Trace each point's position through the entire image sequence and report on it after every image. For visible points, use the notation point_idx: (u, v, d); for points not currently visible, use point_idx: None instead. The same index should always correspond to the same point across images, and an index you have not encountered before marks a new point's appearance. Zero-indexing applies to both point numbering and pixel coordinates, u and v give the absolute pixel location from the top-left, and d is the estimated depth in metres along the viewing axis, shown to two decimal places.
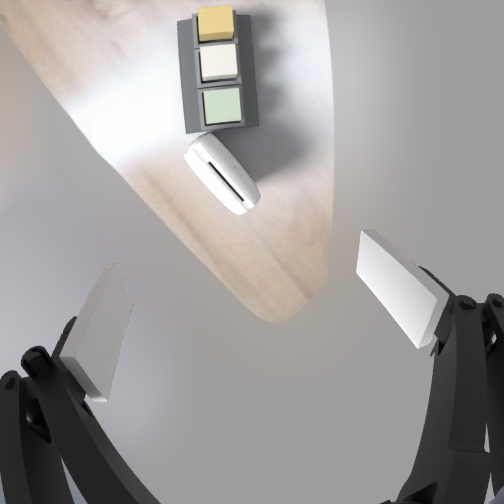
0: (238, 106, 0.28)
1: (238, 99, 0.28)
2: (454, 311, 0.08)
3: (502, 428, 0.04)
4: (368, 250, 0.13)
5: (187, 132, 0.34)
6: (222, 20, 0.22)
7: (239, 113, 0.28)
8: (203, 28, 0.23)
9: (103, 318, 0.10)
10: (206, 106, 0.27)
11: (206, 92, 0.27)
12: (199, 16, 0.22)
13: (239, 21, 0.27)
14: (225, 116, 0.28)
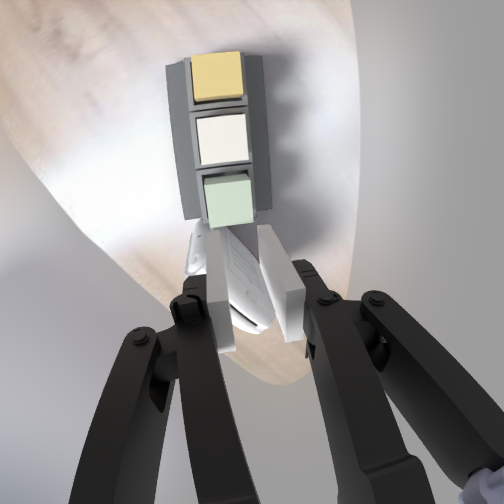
0: (250, 204, 0.24)
1: (250, 195, 0.24)
2: (313, 312, 0.09)
3: (436, 434, 0.05)
4: (260, 244, 0.15)
5: (186, 218, 0.30)
6: (227, 76, 0.19)
7: (251, 213, 0.25)
8: (200, 89, 0.19)
9: None
10: (208, 205, 0.24)
11: (208, 186, 0.23)
12: (194, 69, 0.18)
13: (248, 65, 0.23)
14: (233, 218, 0.25)
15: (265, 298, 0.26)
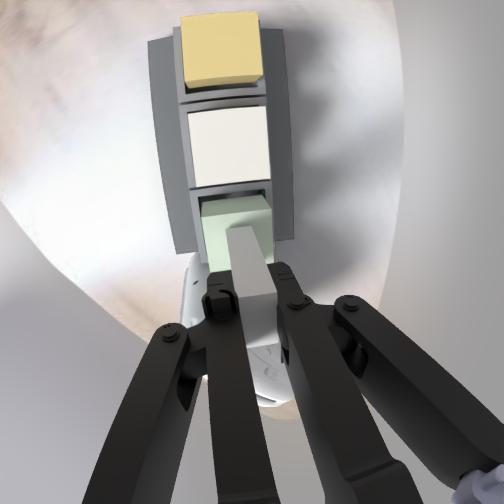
0: (269, 245, 0.17)
1: (270, 231, 0.16)
2: (284, 318, 0.09)
3: (422, 439, 0.05)
4: None
5: (178, 252, 0.22)
6: (237, 47, 0.11)
7: (271, 257, 0.17)
8: (194, 66, 0.11)
9: None
10: (208, 247, 0.16)
11: (207, 219, 0.15)
12: (184, 36, 0.10)
13: (264, 41, 0.15)
14: None
15: None
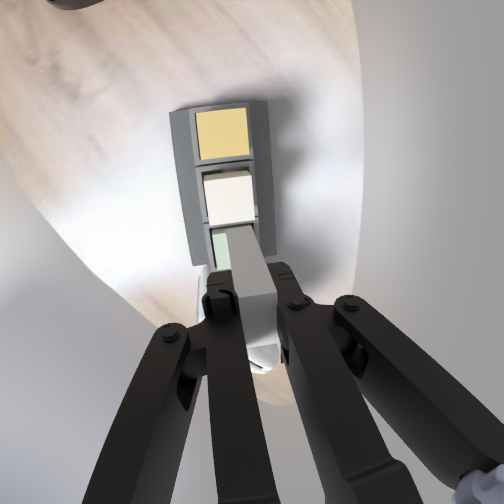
0: None
1: None
2: (284, 318, 0.09)
3: (422, 439, 0.05)
4: None
5: (194, 264, 0.32)
6: (233, 136, 0.21)
7: None
8: (206, 150, 0.21)
9: None
10: (216, 251, 0.27)
11: (215, 236, 0.27)
12: (199, 128, 0.20)
13: (253, 112, 0.25)
14: None
15: None
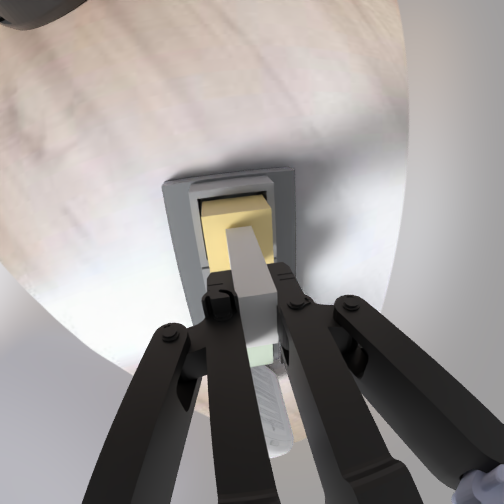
0: (270, 352, 0.23)
1: (271, 346, 0.23)
2: (284, 318, 0.09)
3: (422, 439, 0.05)
4: None
5: None
6: None
7: (271, 358, 0.24)
8: (217, 265, 0.17)
9: None
10: None
11: None
12: (207, 238, 0.16)
13: (276, 186, 0.20)
14: (254, 362, 0.24)
15: (286, 435, 0.23)
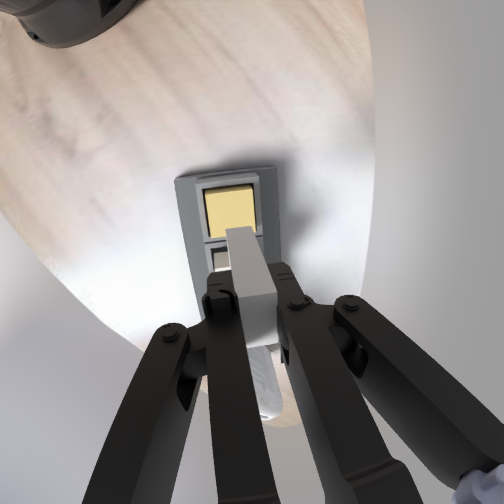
0: None
1: None
2: (284, 318, 0.09)
3: (422, 439, 0.05)
4: None
5: None
6: (241, 216, 0.24)
7: None
8: (216, 229, 0.24)
9: None
10: None
11: None
12: (209, 209, 0.23)
13: (262, 180, 0.26)
14: None
15: (275, 397, 0.28)
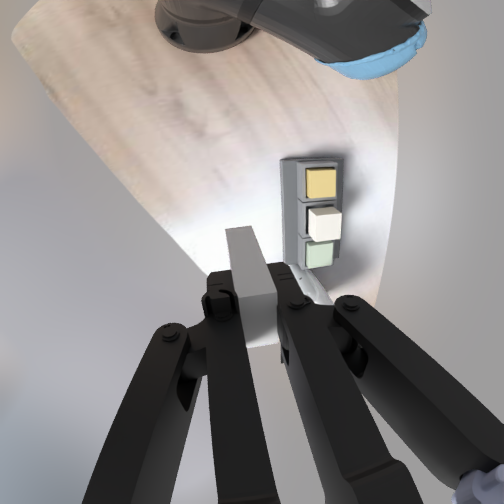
0: (331, 255, 0.43)
1: (331, 251, 0.42)
2: (284, 318, 0.09)
3: (422, 439, 0.05)
4: None
5: None
6: (328, 186, 0.37)
7: (331, 260, 0.43)
8: (313, 192, 0.38)
9: None
10: (310, 256, 0.42)
11: (311, 246, 0.42)
12: (311, 180, 0.37)
13: None
14: (321, 263, 0.43)
15: None
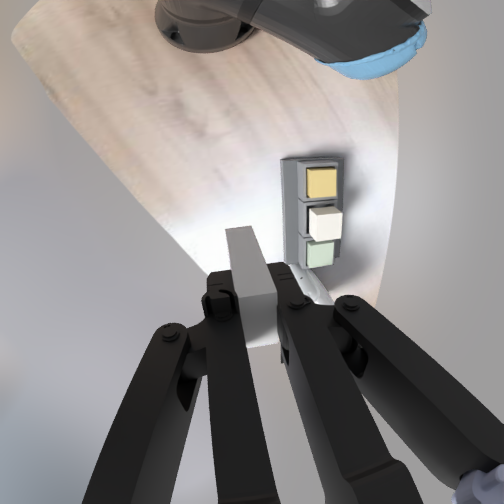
0: (331, 255, 0.43)
1: (332, 250, 0.42)
2: (284, 318, 0.09)
3: (422, 439, 0.05)
4: None
5: (287, 263, 0.47)
6: (329, 185, 0.37)
7: (331, 260, 0.43)
8: (314, 192, 0.38)
9: None
10: (311, 256, 0.42)
11: (312, 246, 0.42)
12: (311, 180, 0.37)
13: None
14: (322, 262, 0.43)
15: None
